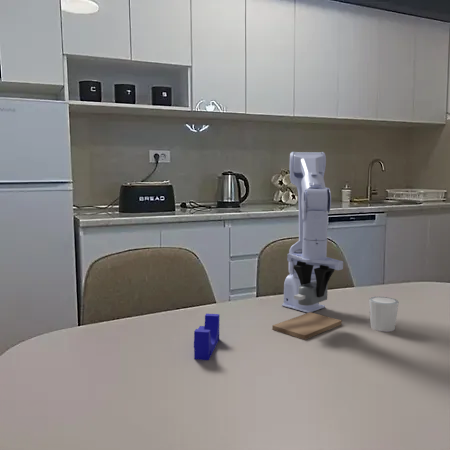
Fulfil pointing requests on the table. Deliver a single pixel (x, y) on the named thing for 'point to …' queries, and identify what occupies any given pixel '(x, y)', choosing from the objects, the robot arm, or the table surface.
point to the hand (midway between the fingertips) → (313, 294)
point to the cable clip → (206, 337)
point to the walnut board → (307, 325)
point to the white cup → (383, 313)
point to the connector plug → (309, 294)
